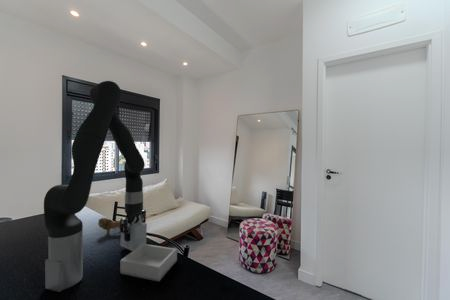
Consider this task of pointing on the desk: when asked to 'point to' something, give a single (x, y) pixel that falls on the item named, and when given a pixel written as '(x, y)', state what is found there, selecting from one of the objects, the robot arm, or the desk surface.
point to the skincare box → (135, 236)
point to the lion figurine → (108, 224)
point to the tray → (148, 262)
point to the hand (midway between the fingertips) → (133, 237)
